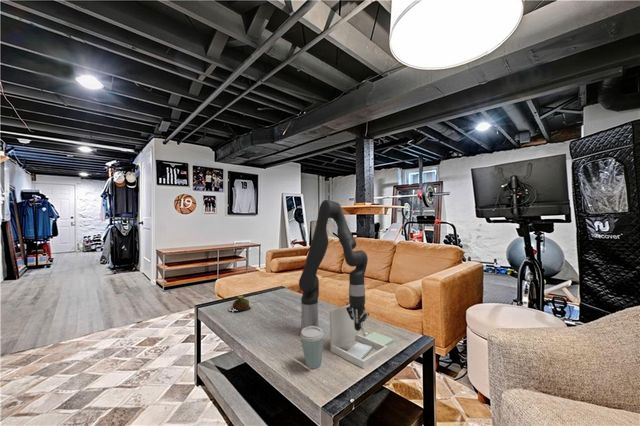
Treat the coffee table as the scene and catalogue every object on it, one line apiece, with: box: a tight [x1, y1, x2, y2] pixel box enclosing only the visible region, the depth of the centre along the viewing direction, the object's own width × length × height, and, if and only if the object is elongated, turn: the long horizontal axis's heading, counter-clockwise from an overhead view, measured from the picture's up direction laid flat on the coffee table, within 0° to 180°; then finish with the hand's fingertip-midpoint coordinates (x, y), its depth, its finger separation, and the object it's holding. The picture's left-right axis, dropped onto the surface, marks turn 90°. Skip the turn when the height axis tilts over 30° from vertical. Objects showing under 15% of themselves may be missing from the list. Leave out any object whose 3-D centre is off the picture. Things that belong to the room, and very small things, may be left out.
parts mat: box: [365, 331, 395, 347], centre depth 134 cm, size 10×12×2 cm
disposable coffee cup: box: [299, 326, 325, 370], centre depth 115 cm, size 11×11×15 cm
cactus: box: [232, 294, 251, 312], centre depth 188 cm, size 17×16×10 cm
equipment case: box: [329, 304, 389, 369], centre depth 124 cm, size 19×20×19 cm
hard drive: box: [347, 342, 373, 359], centre depth 123 cm, size 2×8×12 cm
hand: (357, 329), depth 124 cm, fingers closed
